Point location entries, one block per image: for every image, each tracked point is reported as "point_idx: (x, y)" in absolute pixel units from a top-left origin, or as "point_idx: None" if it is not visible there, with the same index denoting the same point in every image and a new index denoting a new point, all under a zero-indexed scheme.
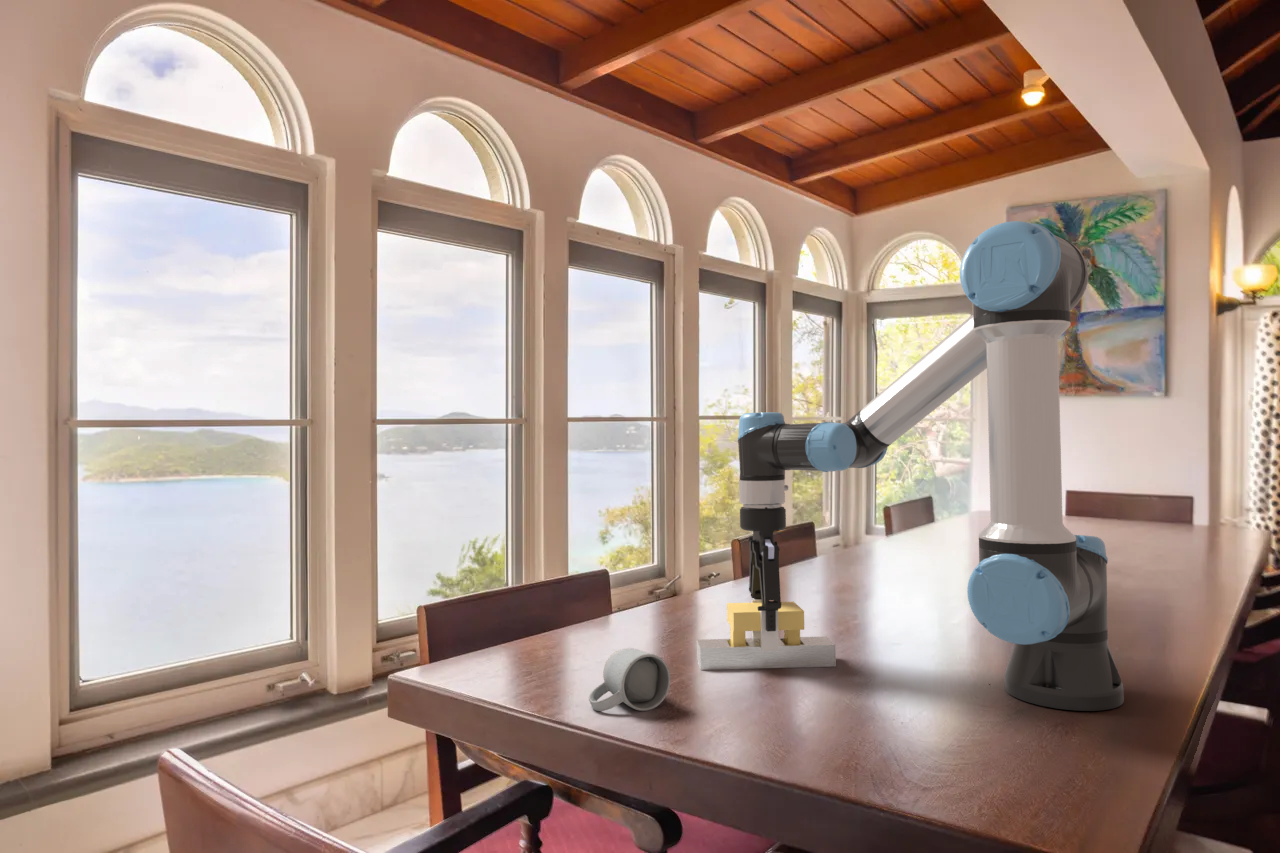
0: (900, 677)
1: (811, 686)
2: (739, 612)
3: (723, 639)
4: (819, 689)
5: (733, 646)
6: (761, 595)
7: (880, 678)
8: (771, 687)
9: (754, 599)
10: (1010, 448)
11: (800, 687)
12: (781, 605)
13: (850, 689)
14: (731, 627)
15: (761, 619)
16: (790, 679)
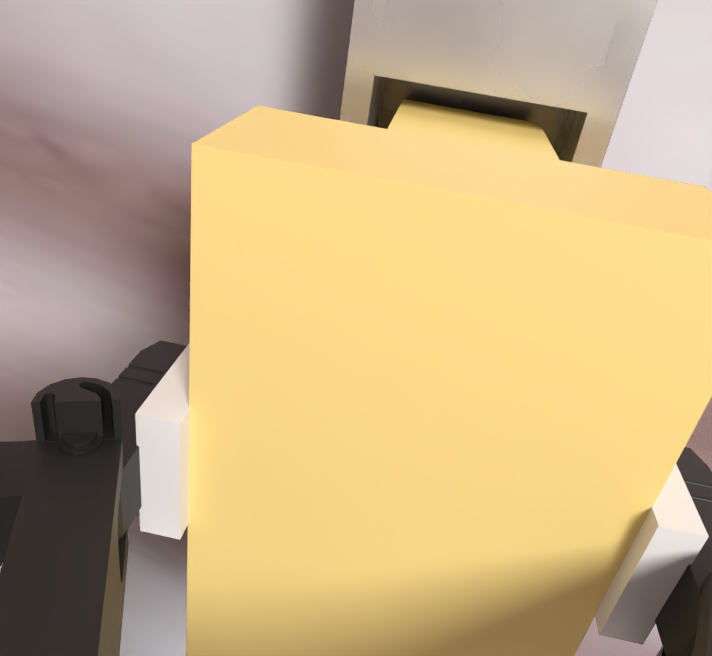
0: (143, 614)
1: (41, 330)
2: (197, 215)
3: (610, 93)
4: (3, 341)
5: (368, 102)
6: (80, 535)
7: (136, 567)
8: (21, 161)
9: (684, 554)
10: None
11: (26, 285)
12: (414, 633)
13: (10, 436)
14: (409, 133)
15: (172, 366)
16: (143, 292)
